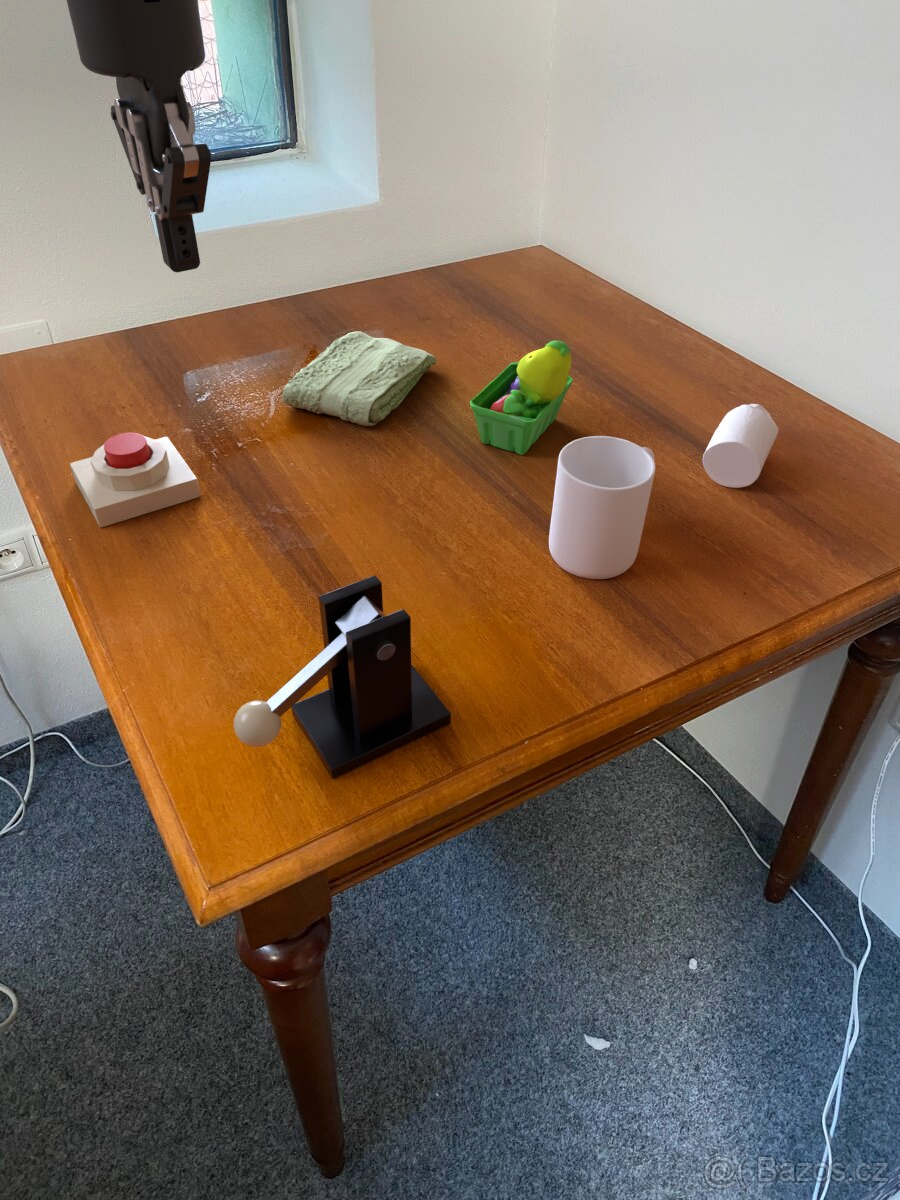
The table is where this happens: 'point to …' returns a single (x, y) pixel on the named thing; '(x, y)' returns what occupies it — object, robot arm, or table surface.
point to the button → (127, 450)
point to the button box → (135, 483)
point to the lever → (300, 681)
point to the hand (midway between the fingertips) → (183, 267)
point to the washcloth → (358, 378)
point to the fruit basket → (524, 398)
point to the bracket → (368, 688)
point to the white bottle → (740, 446)
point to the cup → (600, 505)
